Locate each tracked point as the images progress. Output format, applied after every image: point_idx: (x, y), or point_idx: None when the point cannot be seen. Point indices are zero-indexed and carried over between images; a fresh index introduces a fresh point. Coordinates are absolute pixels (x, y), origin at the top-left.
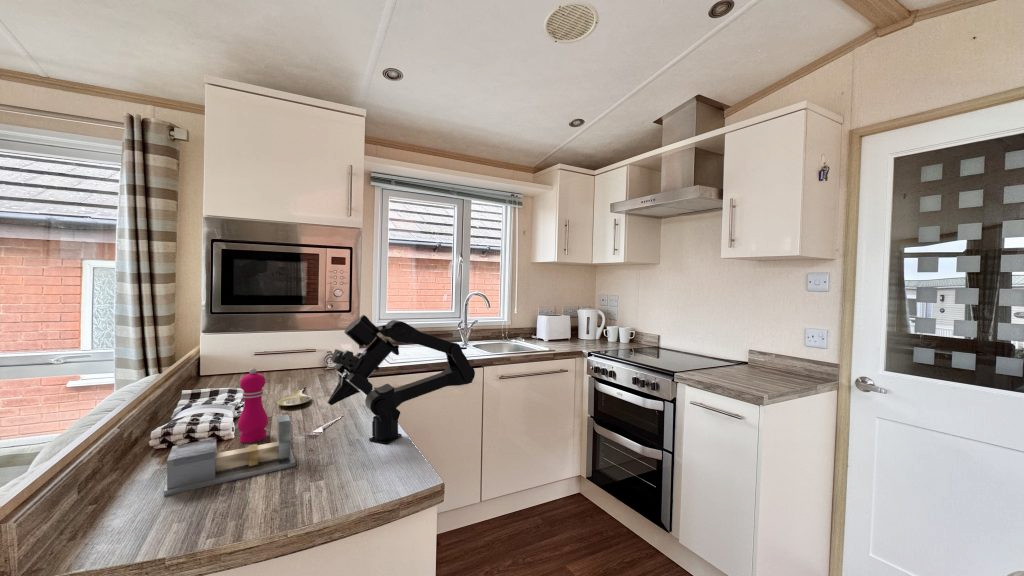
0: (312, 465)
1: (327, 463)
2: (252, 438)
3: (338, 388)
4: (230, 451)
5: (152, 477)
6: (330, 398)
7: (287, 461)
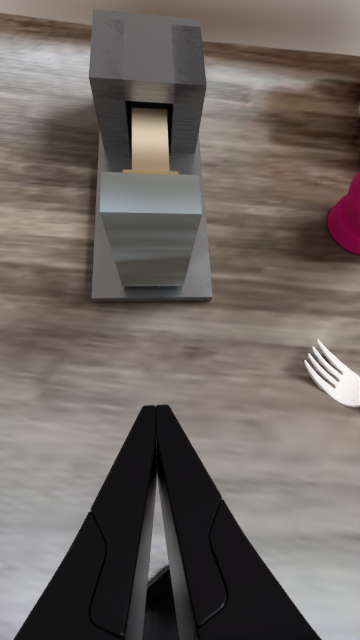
0: (70, 342)
1: (56, 383)
2: (334, 217)
3: (101, 569)
4: (161, 139)
5: (208, 82)
6: (156, 428)
7: (109, 280)
